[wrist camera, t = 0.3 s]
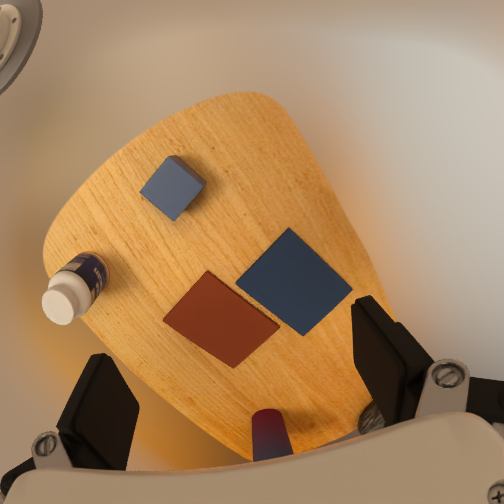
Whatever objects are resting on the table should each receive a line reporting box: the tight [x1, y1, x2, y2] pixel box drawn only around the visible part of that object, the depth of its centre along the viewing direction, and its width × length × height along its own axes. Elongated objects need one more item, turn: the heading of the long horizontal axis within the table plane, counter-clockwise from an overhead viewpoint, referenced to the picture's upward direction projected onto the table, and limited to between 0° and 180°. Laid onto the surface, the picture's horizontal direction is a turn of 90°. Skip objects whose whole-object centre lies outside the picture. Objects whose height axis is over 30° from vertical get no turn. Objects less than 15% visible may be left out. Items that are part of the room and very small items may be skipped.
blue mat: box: [236, 228, 353, 336], centre depth 37 cm, size 12×9×1 cm
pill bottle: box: [42, 252, 109, 325], centre depth 30 cm, size 5×5×10 cm
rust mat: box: [163, 271, 280, 369], centre depth 38 cm, size 12×9×1 cm
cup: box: [252, 409, 294, 462], centre depth 38 cm, size 7×7×15 cm
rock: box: [358, 401, 388, 435], centre depth 45 cm, size 12×16×6 cm
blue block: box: [140, 155, 206, 221], centre depth 30 cm, size 4×4×4 cm
